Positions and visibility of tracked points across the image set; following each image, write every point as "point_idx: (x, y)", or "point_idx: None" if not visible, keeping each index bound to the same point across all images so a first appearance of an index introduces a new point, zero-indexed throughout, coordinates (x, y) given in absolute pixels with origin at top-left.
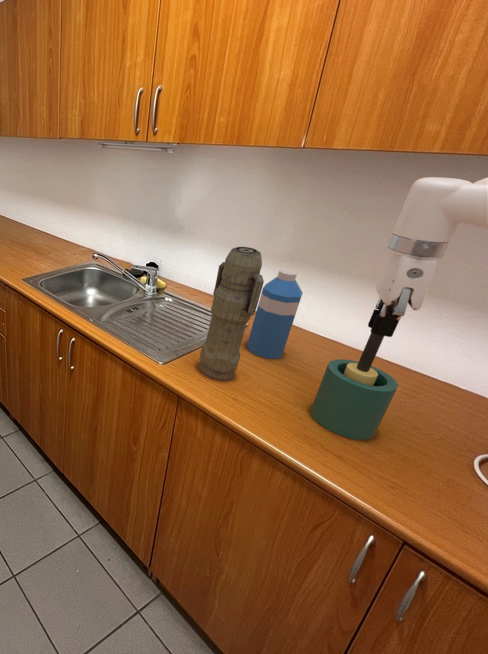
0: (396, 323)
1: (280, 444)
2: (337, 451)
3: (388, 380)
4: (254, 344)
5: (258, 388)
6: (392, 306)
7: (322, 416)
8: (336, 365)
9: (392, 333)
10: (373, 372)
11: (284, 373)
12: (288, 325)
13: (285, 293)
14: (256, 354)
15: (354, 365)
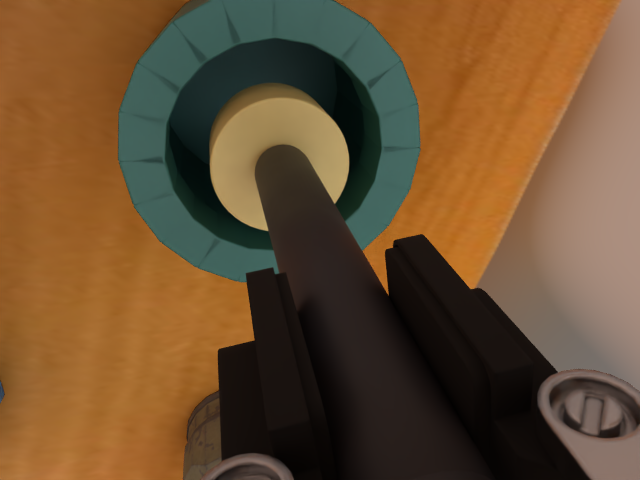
0: (495, 332)
1: (492, 212)
2: (434, 85)
3: (251, 34)
4: None
5: (244, 320)
6: None
7: None
8: (266, 255)
9: (436, 254)
10: (275, 119)
11: (60, 289)
12: None
13: None
14: (2, 389)
15: (261, 204)
